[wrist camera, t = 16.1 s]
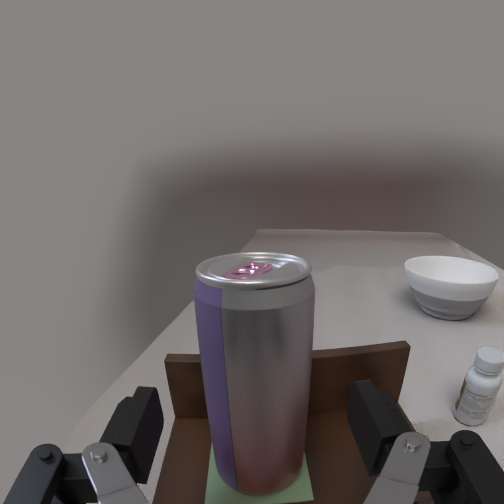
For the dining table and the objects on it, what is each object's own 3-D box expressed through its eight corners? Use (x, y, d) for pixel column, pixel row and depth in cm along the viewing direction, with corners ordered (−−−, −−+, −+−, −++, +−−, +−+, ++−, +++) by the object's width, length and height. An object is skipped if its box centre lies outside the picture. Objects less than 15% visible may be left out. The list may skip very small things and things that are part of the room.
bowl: (381, 301, 60) (384, 260, 58) (446, 287, 64) (450, 252, 62) (446, 341, 41) (456, 290, 39) (508, 316, 45) (516, 274, 43)
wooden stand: (162, 539, 15) (121, 461, 13) (183, 438, 27) (167, 353, 25) (429, 511, 15) (479, 425, 13) (385, 424, 27) (405, 340, 25)
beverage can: (200, 478, 18) (165, 272, 15) (243, 431, 23) (233, 247, 20) (279, 510, 15) (286, 291, 12) (313, 453, 20) (330, 255, 17)
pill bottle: (465, 398, 28) (483, 339, 26) (493, 412, 24) (516, 353, 22) (445, 415, 26) (465, 354, 24) (475, 432, 22) (500, 370, 20)
